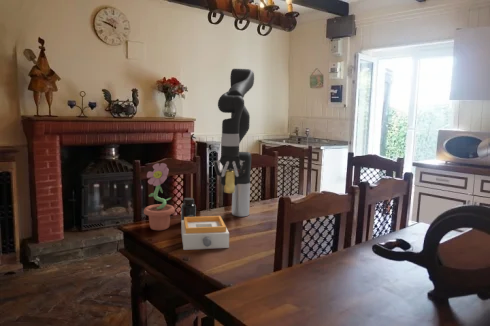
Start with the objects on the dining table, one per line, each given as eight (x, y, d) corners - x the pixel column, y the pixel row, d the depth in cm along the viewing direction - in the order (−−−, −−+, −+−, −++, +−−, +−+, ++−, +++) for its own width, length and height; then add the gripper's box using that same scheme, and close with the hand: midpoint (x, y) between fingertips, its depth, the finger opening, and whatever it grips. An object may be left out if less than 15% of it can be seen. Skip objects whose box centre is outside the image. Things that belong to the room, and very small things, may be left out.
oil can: (222, 190, 160) (223, 166, 159) (233, 190, 161) (234, 166, 160) (224, 193, 156) (225, 168, 154) (235, 193, 157) (236, 167, 155)
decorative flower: (135, 229, 172) (134, 163, 167) (156, 221, 184) (155, 160, 179) (161, 234, 165) (161, 166, 160) (180, 226, 177) (181, 163, 173)
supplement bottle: (189, 226, 178) (189, 201, 177) (178, 223, 182) (178, 199, 180) (198, 222, 184) (198, 198, 182) (187, 220, 188) (187, 196, 186)
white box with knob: (181, 233, 168) (181, 215, 166) (221, 231, 171) (222, 214, 170) (183, 252, 145) (184, 232, 144) (230, 250, 149) (230, 230, 148)
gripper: (245, 143, 161) (243, 183, 163) (211, 143, 158) (210, 183, 160) (249, 145, 154) (247, 186, 156) (214, 145, 151) (213, 187, 153)
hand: (229, 185), depth 158 cm, fingers closed on oil can, 4 cm apart
